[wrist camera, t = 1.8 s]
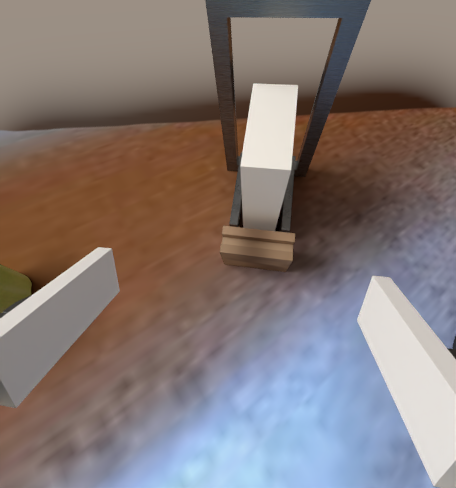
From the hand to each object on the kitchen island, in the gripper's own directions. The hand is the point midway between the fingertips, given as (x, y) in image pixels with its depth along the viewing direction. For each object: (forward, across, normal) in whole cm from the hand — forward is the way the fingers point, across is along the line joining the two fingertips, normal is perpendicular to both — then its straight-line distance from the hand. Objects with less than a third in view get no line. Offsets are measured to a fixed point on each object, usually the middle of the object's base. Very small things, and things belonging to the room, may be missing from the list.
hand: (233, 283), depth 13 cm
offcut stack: (+18, +1, -8) cm, 20 cm away
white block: (+24, +1, -3) cm, 24 cm away
